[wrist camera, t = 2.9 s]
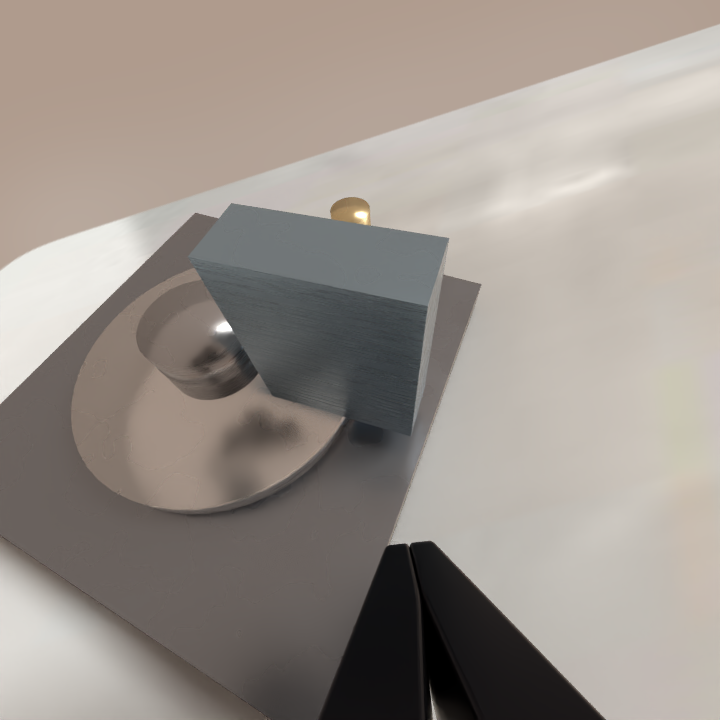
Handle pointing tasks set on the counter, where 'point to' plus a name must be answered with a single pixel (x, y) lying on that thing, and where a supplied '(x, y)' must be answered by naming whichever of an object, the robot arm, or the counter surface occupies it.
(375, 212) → the counter surface
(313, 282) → the flange
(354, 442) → the locating plate
